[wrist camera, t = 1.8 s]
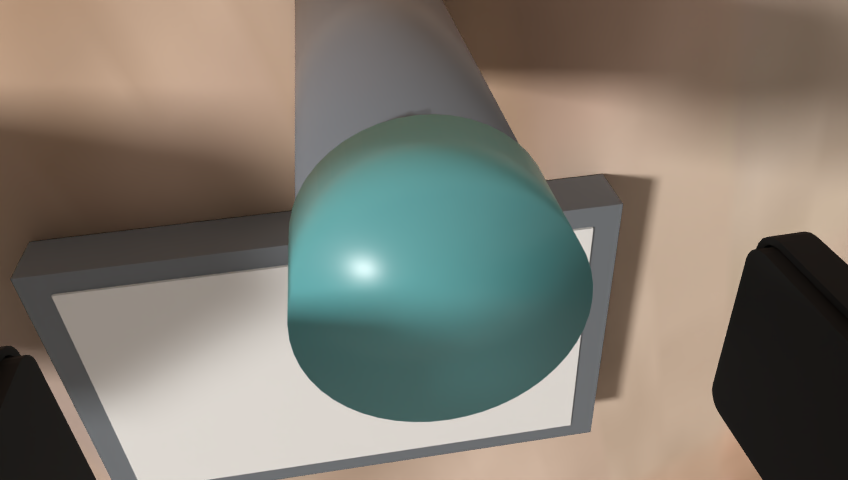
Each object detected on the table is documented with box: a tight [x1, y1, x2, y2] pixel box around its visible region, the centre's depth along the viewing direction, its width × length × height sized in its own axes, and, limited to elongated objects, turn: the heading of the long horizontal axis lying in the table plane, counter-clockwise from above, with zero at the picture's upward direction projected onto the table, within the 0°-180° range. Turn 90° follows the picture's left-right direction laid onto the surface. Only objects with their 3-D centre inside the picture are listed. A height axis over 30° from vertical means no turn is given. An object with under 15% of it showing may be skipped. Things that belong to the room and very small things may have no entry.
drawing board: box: [11, 174, 623, 480], centre depth 28 cm, size 20×12×2 cm, turn 93°
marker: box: [287, 0, 593, 422], centre depth 15 cm, size 4×4×14 cm
